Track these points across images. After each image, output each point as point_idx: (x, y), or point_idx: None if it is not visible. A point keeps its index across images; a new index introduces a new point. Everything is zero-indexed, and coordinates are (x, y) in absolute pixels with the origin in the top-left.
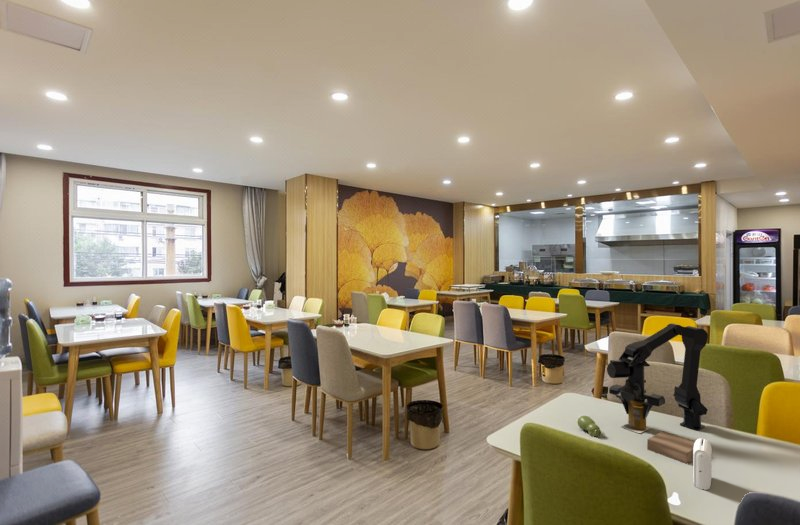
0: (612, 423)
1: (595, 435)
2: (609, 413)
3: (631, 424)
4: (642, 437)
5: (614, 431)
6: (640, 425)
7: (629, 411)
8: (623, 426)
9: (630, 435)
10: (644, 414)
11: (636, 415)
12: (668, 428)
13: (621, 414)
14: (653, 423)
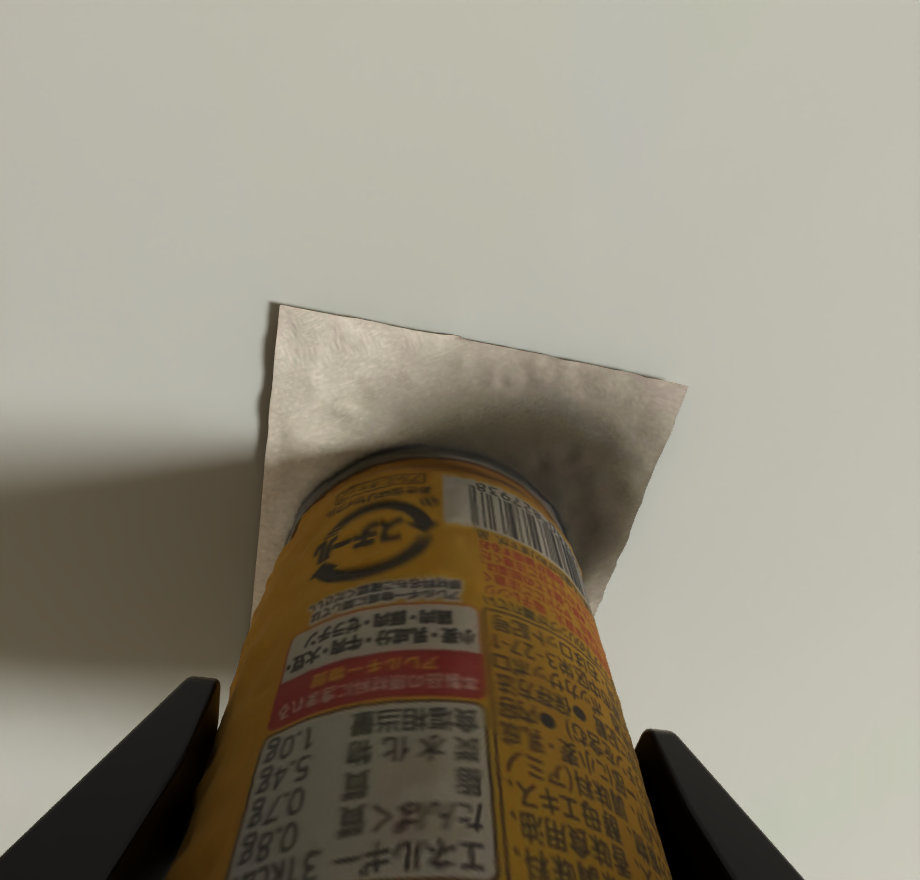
0: (847, 461)
1: None
2: (902, 794)
3: (502, 501)
4: (169, 137)
5: (783, 14)
6: (318, 530)
7: (614, 774)
8: (641, 431)
9: (409, 45)
10: (113, 795)
11: (374, 681)
12: None
13: None
14: None
